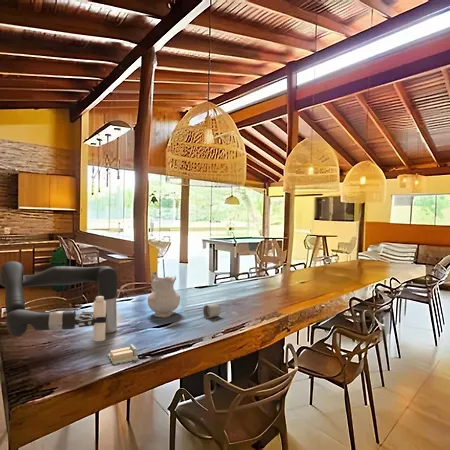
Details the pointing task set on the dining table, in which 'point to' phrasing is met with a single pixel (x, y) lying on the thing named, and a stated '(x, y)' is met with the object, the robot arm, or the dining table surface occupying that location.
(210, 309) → the ceramic mug
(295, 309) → the dining table surface
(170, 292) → the ceramic pitcher
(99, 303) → the white bottle
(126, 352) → the display stand
